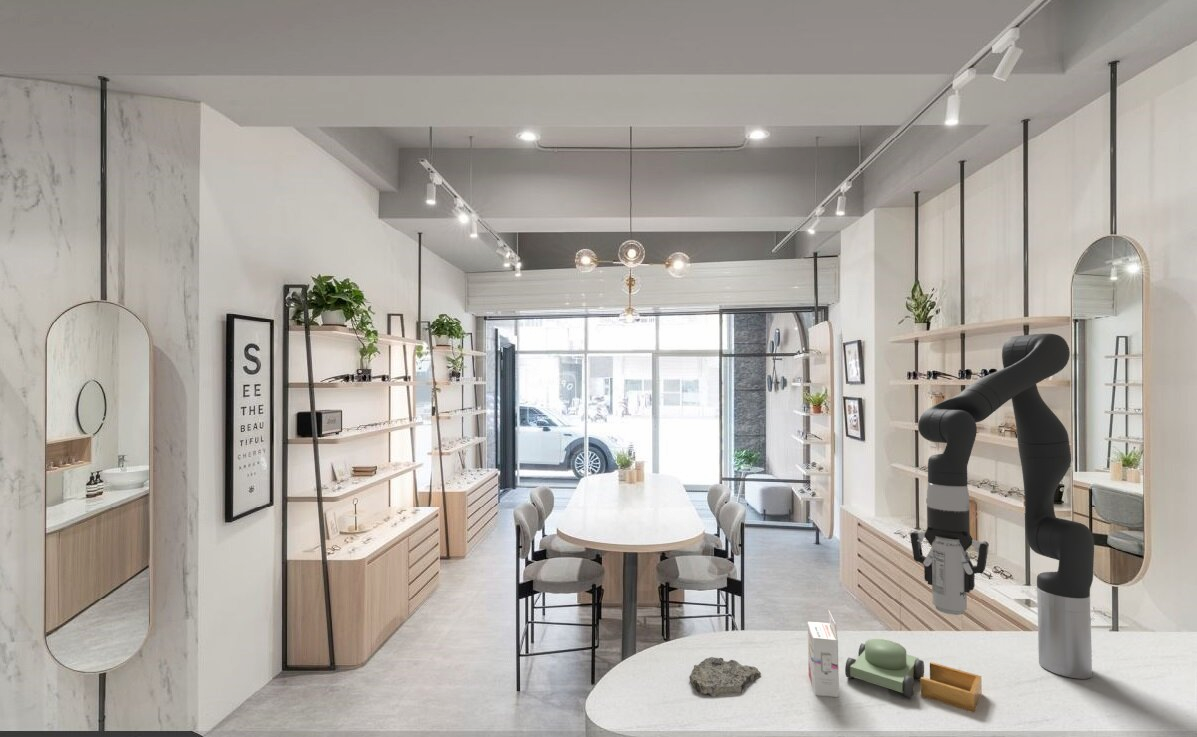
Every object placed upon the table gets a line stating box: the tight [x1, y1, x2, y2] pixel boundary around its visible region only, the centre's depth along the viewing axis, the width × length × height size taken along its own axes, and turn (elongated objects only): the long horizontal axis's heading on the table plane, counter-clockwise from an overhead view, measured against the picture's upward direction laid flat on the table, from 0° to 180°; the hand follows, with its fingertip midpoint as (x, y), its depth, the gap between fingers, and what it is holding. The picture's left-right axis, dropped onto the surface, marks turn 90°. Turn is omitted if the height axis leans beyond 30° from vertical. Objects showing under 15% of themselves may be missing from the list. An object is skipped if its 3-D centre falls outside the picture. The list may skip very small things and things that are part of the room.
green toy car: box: [844, 638, 925, 699], centre depth 122 cm, size 14×12×6 cm
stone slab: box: [689, 656, 761, 697], centre depth 122 cm, size 12×17×3 cm
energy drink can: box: [931, 536, 968, 616], centre depth 117 cm, size 6×6×15 cm
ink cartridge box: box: [807, 609, 840, 698], centre depth 119 cm, size 9×5×15 cm, turn 168°
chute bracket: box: [920, 661, 983, 714], centre depth 116 cm, size 9×9×4 cm
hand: (948, 587), depth 117 cm, fingers closed on energy drink can, 6 cm apart
